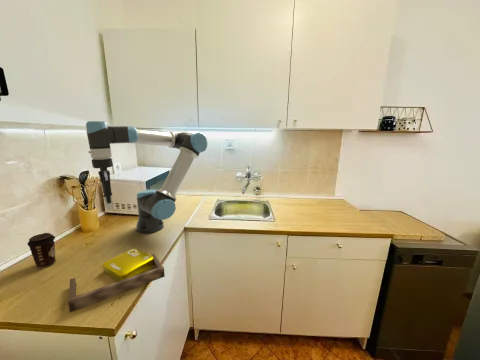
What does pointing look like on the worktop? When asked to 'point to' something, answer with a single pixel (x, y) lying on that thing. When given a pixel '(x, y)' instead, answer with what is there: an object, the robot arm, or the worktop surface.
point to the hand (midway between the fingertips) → (109, 209)
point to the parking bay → (112, 287)
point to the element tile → (128, 264)
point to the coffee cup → (43, 249)
